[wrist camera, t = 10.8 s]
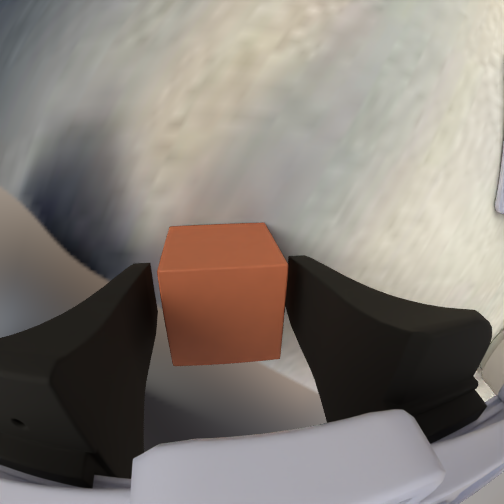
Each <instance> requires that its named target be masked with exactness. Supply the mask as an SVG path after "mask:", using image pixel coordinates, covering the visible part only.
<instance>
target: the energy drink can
mask: <svg viewBox="0 0 504 504" xmlns="http://www.w3.org/2000/svg"><path fill="white" fill-rule="evenodd" d="M480 366H481V368H482V370H483V371H482V378H483V380H484V381H485V382H486V383H487V384H488V386H489V387H490V388H491V389H492V391H493V392H494V393H495V394H496V395H498V392H499V390H500V388H501V387H502V385H503V384H504V330H503V331H502V332H500V333H499V334H498V336H497V337H496V338H495V339H494V340H493V341H492V343H491V344H490V345H489V347H488V350H487V352H486V354H485V356H484V358H483V359H482V361H481V364H480Z"/></svg>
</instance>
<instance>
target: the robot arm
mask: <svg viewBox="0 0 504 504" xmlns="http://www.w3.org/2000/svg"><path fill="white" fill-rule="evenodd" d="M495 210H496V211H497V212H499V213H501V214H504V143H503V153H502V162H501V170H500V177H499V184H498V190H497V196H496V201H495ZM285 307H286V310H287V314H288V318H289V321H290V324H291V327H292V329H293V332H294V334H295V336H296V338H297V341H298V343H299V345H300V347H301V349H302V352H303V354H304V356H305V358H306V360H307V363H308V365H309V367H310V369H311V372H312V374H313V377H314V379H315V382H316V386H317V389H318V392H319V395H320V398H321V402H322V406H323V409H324V413H325V417H326V420H327V423H324V424H320V425H314V426H310V427H304V428H298V429H293V430H286V431H280V432H272V433H264V434H256V435H248V436H237V437H223V438H207V439H192V440H186V441H179V442H171V443H163V444H159V445H157V446H155V447H153V448H152V449H150V450H148V451H146V452H145V453H144V436H143V435H144V429H143V428H144V427H143V426H144V396H145V387H146V380H147V375H148V369H149V365H150V360H151V355H152V350H153V346H154V341H155V336H156V327H157V314H158V310H157V304H156V298H155V292H154V285H153V279H152V272H151V265H150V263H137V264H133V265H131V266H129V267H128V268H127V269H125V270H124V271H123V272H122V273H120V274H119V275H118V276H117V277H115V278H114V279H113V280H111V281H110V282H109V283H108V284H106V285H105V286H104V287H103V288H101V289H100V290H99V291H97V292H96V293H94V294H93V295H92V296H90V297H89V298H87V299H86V300H85V301H83V302H82V303H80V304H78V305H77V306H75V307H73V308H72V309H70V310H68V311H67V312H65V313H63V314H61V315H59V316H57V317H55V318H53V319H51V320H49V321H47V322H44V323H42V324H40V325H38V326H35V327H33V328H30V329H28V330H25V331H22V332H19V333H16V334H13V335H10V336H6V337H2V338H0V504H459V503H461V502H463V501H464V500H465V499H467V498H469V497H470V496H471V495H473V494H474V493H476V492H477V491H479V490H480V489H481V488H483V487H484V486H485V485H487V484H488V483H489V482H491V481H492V480H493V479H495V478H496V477H497V476H498V475H500V474H501V473H502V472H503V471H504V384H503V385H502V387H501V388H500V390H499V392H498V395H496V396H494V397H493V398H491V399H489V400H488V401H486V402H484V401H483V400H482V398H481V397H480V396H479V394H478V393H477V392H476V391H475V389H476V388H477V387H478V381H477V380H476V379H475V378H474V377H473V375H474V374H475V372H476V370H477V368H478V367H479V365H480V363H481V361H482V359H483V358H484V356H485V354H486V352H487V350H488V347H489V345H490V342H491V337H492V326H491V325H490V323H489V321H487V320H486V319H485V318H484V317H483V316H482V315H481V314H480V313H479V312H477V311H475V310H468V309H455V308H445V307H438V306H432V305H427V304H422V303H417V302H413V301H409V300H405V299H402V298H398V297H395V296H392V295H389V294H386V293H383V292H380V291H378V290H375V289H372V288H370V287H367V286H365V285H363V284H361V283H359V282H356V281H354V280H352V279H350V278H348V277H346V276H344V275H342V274H340V273H338V272H337V271H335V270H333V269H331V268H329V267H327V266H325V265H324V264H322V263H320V262H318V261H316V260H314V259H312V258H310V257H307V256H289V257H288V277H287V289H286V301H285Z"/></svg>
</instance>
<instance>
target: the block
mask: <svg viewBox="0 0 504 504" xmlns="http://www.w3.org/2000/svg"><path fill="white" fill-rule="evenodd" d="M157 275H158V282H159V289H160V295H161V302H162V308H163V314H164V320H165V326H166V331H167V337H168V342H169V347H170V353H171V357H172V363H173V365H174V366H192V365H212V364H229V363H241V362H253V361H264V360H274V359H280V354H281V344H282V334H283V323H284V312H285V301H286V289H287V277H288V263H287V262H286V260H285V258H284V256H283V254H282V253H281V251H280V249H279V247H278V246H277V244H276V242H275V240H274V239H273V237H272V235H271V233H270V232H269V230H268V228H267V226H266V225H265V223H240V224H214V225H191V226H171V227H170V228H169V231H168V234H167V238H166V241H165V245H164V248H163V252H162V256H161V259H160V263H159V267H158V270H157Z"/></svg>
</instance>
